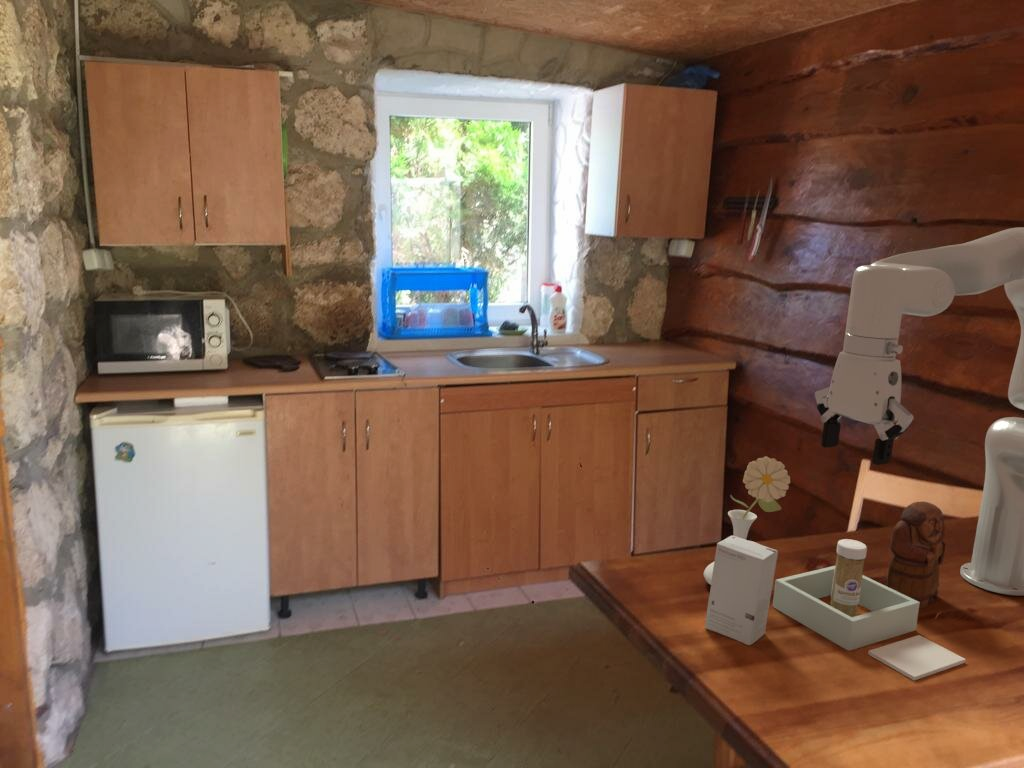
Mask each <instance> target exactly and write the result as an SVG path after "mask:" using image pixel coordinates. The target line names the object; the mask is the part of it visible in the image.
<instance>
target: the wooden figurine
mask: <svg viewBox="0 0 1024 768" xmlns="http://www.w3.org/2000/svg"><path fill="white" fill-rule="evenodd" d="M945 530H946V529H945V520H944V515H943V512H942V510H941V509H940V507H938V506H937V505H935V504H934V503H931V502H928V501H915V502H912V503H910V504H909V505H907V507H905V508H904V510H903V511H902V513H901V515H900V521H897V523H896V524H895V526H894V528H893V530H892V534H891V539H890V543H889V544H890V545H889V547H890V551H891V552H892V555H893V556H892V558H891V561H890V563H889V567H888V572H887V577H886V578H887V580H886V586H887V587H889V588H891V589H893V590H895V591H897V592H899V593H902V594H904V595H906V596H908V597H910V598H912V599H914V600H916V601H918V602H920V605H919V609H925V608H926V607H928V605H929V604H931V603H934V602H935V599H934V597H937V596H938V595H939V586H940V567H939V566H940V565H942V563H944V562H943V561H944V557H945V554H946V553H945V552H946V546H947V545H946V543H945V542H944V539H945Z"/></svg>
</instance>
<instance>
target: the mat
mask: <svg viewBox="0 0 1024 768" xmlns="http://www.w3.org/2000/svg"><path fill="white" fill-rule="evenodd" d="M867 653H868V656H870V657H872V658H874V659H876V660H877V661H879V662H881V663H882V664H885V665H886V666H888V667H890V668H891V669H893V670H894V671H896V672H898V673H900V674H902V675H903V676H905V677H907V678H908V679H910V680H912V681H917V680H919V679H923V678H925V677H929V676H931V675H934V674H936V673H939V672H942V671H946V670H948V669H951V668H954V667H956V666H959V665H962V664H964V663H966V658H965V657H962V656H960V655H958V654H957V653H955V652H953V651H951V650H949V649H947V648H946V647H943V646H941V645H939V644H937V643H936V642H934V641H932V640H929V639H928V638H926V637H923V636H922V635H920V634H917V635H915V636H911V637H909V638H905V639H902V640H899V641H895V642H891V643H889V644H885V645H883V646H880V647H876V648H873V649H870V650H868V652H867Z"/></svg>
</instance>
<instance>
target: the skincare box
mask: <svg viewBox="0 0 1024 768" xmlns="http://www.w3.org/2000/svg"><path fill="white" fill-rule="evenodd" d="M715 548H716V550H715V556H714V561H713V562H714V568H713V575H712V581H711V585H710V587H709V588H710V589H709V590H710V591H709V594H708V595H709V596H708V601H707V608H706V609H707V610H706V614H705V615H706V616H705V622H704V623H705V624H704V626H705V629H707V630H709V631H710V632H711V631H712V632H715V633H718V634H720V635H722V636H725V637H728V638H730V639H733V640H736V641H738V642H740V643H741V644H745V645H747V646H752V645H753V644H754V643H755V642H756V641H758V640H759V639H760V638H761V637H763V636H764V635H765V633H766V629H767V622H768V614H769V609H770V604H771V597H772V591H773V585H774V579H775V572H776V566H777V560H778V554H779V551H778V550H777V549H774V548H771V547H768V546H766V545H763V544H760V543H758V542H755V541H752V540H747V539H746V540H745V539H742V538H739V537H736V536H734V534H733V535H730V536H727V537H726V538H725V539H723V540H721V541H719V542H717V543H716V547H715Z"/></svg>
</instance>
